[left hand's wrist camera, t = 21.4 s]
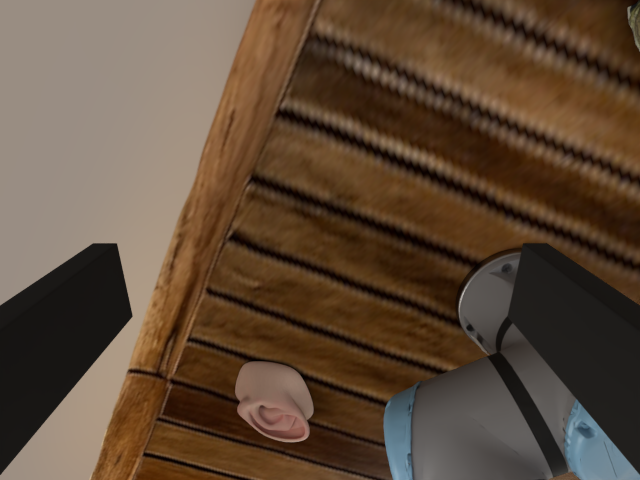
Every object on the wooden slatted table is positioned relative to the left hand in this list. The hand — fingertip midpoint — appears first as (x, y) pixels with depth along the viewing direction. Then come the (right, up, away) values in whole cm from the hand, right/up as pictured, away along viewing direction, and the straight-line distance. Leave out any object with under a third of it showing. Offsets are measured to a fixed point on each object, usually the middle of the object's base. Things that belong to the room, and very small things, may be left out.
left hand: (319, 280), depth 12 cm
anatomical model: (-7, -22, +46) cm, 51 cm away
